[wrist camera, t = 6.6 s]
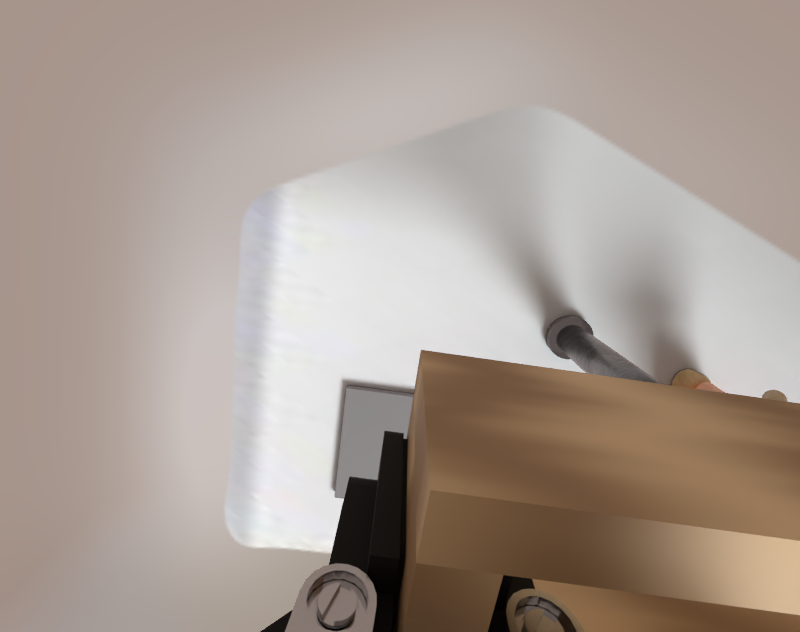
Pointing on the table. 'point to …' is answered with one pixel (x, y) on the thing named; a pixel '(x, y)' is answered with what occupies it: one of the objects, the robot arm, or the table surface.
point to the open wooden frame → (598, 500)
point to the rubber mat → (368, 431)
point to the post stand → (590, 350)
